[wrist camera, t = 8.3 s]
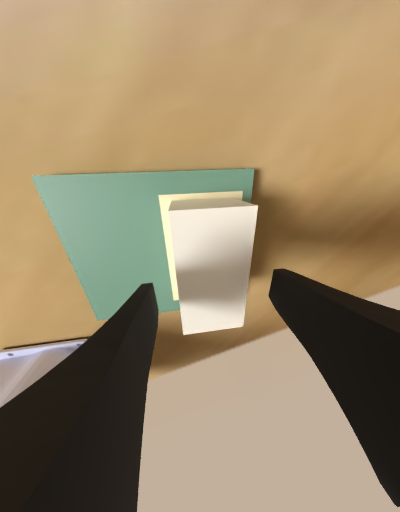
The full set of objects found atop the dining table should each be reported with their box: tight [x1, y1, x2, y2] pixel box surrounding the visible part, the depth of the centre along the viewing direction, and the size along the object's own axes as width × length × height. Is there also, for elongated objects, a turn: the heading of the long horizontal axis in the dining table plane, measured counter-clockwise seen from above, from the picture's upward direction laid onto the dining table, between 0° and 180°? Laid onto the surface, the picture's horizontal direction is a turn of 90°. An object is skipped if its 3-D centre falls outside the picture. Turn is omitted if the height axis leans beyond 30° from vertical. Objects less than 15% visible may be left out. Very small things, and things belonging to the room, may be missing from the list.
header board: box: [31, 169, 254, 320], centre depth 13 cm, size 15×13×4 cm
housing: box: [168, 198, 258, 335], centre depth 12 cm, size 5×9×4 cm, turn 2°
